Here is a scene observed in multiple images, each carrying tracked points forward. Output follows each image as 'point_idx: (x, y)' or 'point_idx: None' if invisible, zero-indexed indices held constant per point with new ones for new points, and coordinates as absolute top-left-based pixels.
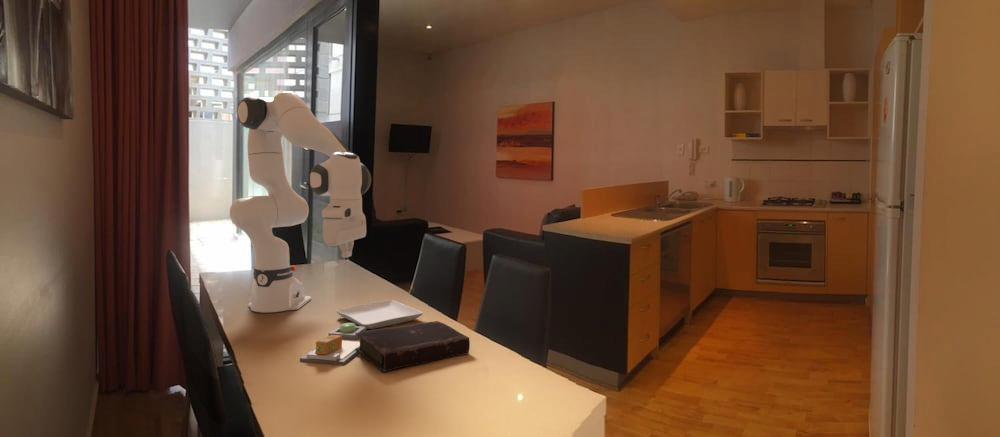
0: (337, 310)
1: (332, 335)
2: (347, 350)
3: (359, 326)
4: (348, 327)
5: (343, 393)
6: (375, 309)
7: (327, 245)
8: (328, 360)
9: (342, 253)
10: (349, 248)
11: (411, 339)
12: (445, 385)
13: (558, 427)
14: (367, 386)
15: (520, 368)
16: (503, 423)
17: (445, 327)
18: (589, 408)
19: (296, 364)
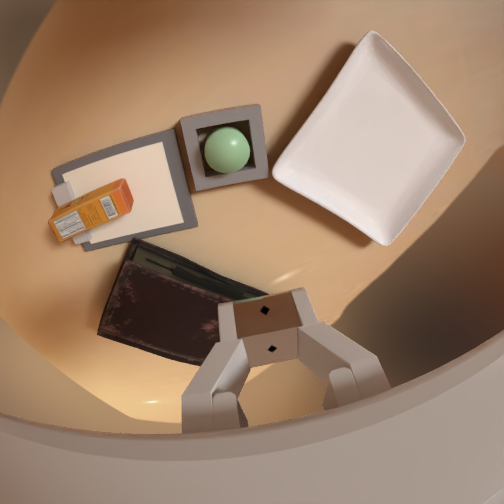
0: (373, 34)
1: (112, 198)
2: (125, 224)
3: (266, 159)
4: (210, 166)
5: (39, 301)
6: (426, 113)
7: (6, 417)
8: None
9: (221, 332)
10: (311, 360)
11: (174, 338)
12: (128, 366)
13: (128, 415)
14: (67, 313)
15: None
16: (107, 400)
17: None
18: (164, 421)
19: (42, 176)
